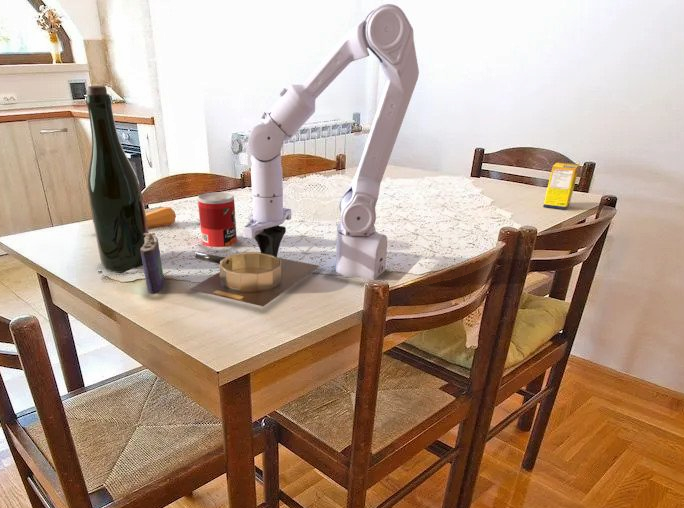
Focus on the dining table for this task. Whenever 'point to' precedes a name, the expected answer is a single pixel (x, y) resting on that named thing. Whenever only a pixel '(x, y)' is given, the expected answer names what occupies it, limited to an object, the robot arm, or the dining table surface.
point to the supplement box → (561, 185)
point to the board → (289, 277)
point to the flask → (152, 264)
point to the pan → (247, 271)
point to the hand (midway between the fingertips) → (269, 264)
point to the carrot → (160, 217)
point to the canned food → (217, 219)
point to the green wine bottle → (113, 190)
